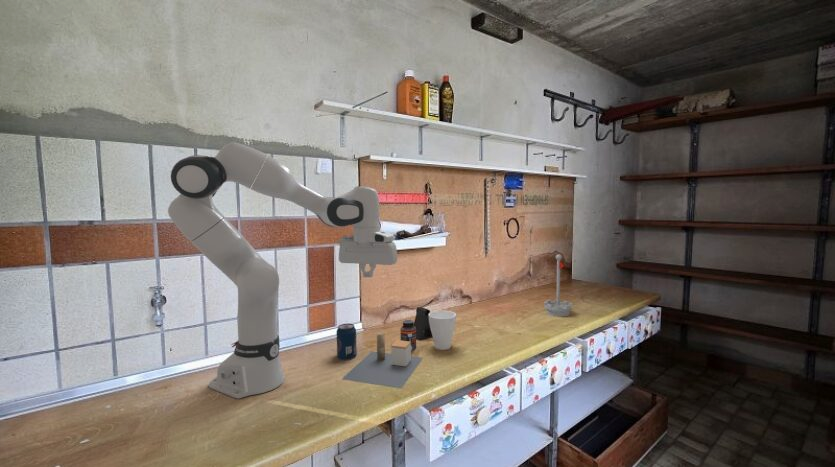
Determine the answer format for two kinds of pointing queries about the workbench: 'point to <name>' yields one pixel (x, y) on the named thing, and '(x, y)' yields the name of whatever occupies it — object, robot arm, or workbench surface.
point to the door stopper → (422, 324)
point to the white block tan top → (401, 353)
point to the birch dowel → (380, 346)
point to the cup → (442, 328)
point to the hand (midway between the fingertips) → (367, 277)
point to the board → (382, 371)
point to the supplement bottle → (409, 333)
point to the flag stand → (558, 298)
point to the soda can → (346, 342)
